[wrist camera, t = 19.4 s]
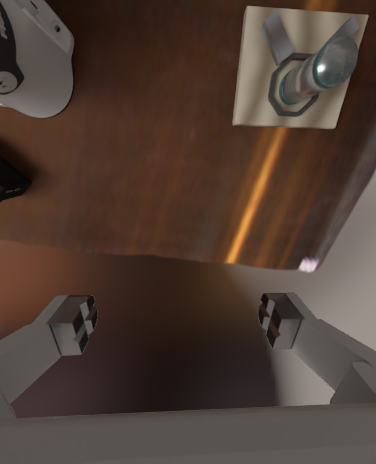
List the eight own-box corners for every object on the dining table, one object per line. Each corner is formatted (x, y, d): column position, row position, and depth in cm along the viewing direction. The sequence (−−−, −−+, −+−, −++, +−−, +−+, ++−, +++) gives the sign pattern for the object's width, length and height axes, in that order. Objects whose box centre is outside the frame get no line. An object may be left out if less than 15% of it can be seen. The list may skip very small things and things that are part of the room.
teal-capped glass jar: (275, 80, 32) (313, 51, 23) (303, 62, 32) (354, 25, 22) (283, 111, 34) (322, 95, 25) (310, 94, 33) (361, 72, 24)
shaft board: (232, 125, 36) (237, 122, 33) (244, 12, 30) (252, -5, 27) (329, 129, 37) (343, 126, 34) (360, 21, 31) (381, 5, 28)
